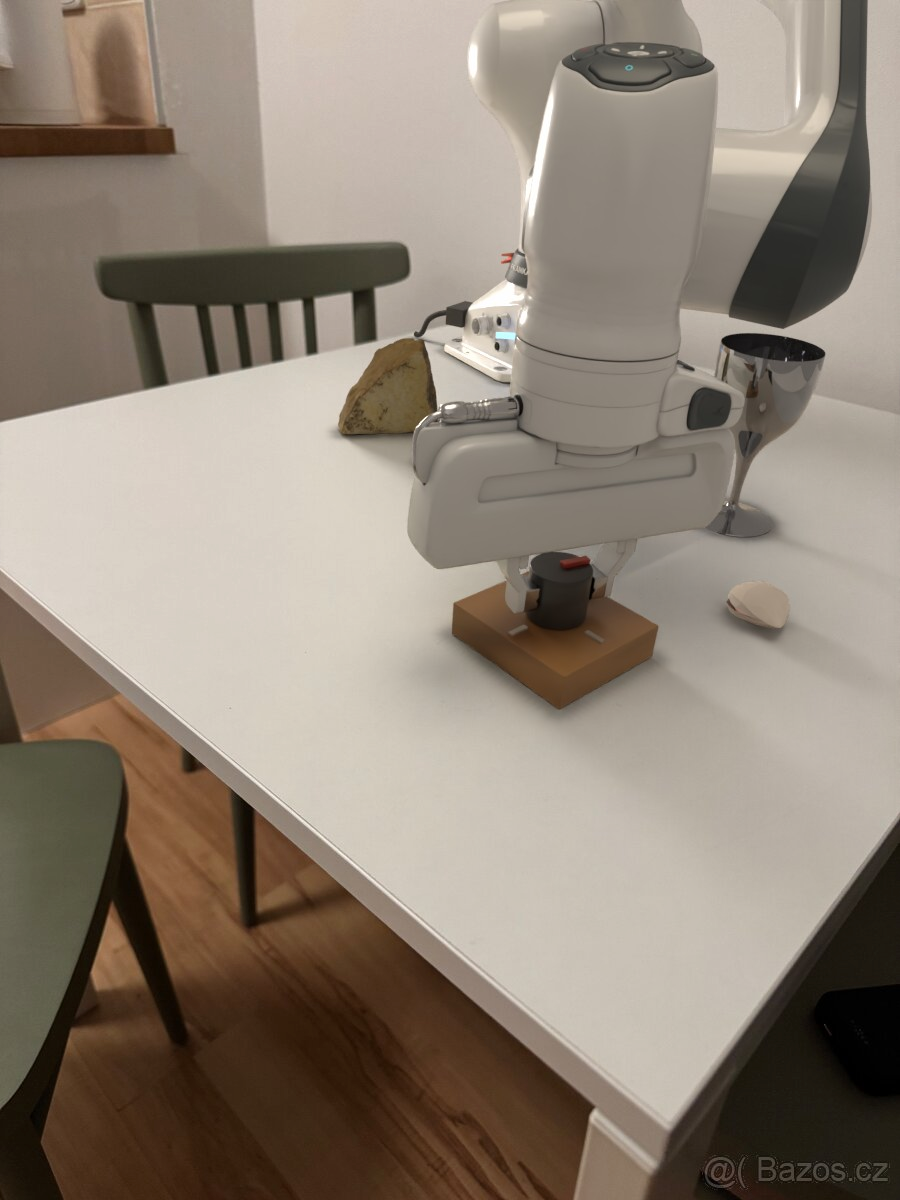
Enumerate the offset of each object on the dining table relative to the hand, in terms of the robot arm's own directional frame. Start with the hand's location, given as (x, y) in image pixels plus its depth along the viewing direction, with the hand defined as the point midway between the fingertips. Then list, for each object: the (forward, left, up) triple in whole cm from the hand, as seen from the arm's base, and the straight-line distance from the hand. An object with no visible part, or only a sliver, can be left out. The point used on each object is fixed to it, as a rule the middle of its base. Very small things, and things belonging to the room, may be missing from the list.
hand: (558, 600), depth 54 cm
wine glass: (-4, +27, -4) cm, 28 cm away
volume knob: (0, 0, -1) cm, 1 cm away
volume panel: (0, 0, -4) cm, 4 cm away
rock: (-38, +15, -4) cm, 41 cm away
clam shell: (+7, +14, -4) cm, 16 cm away
